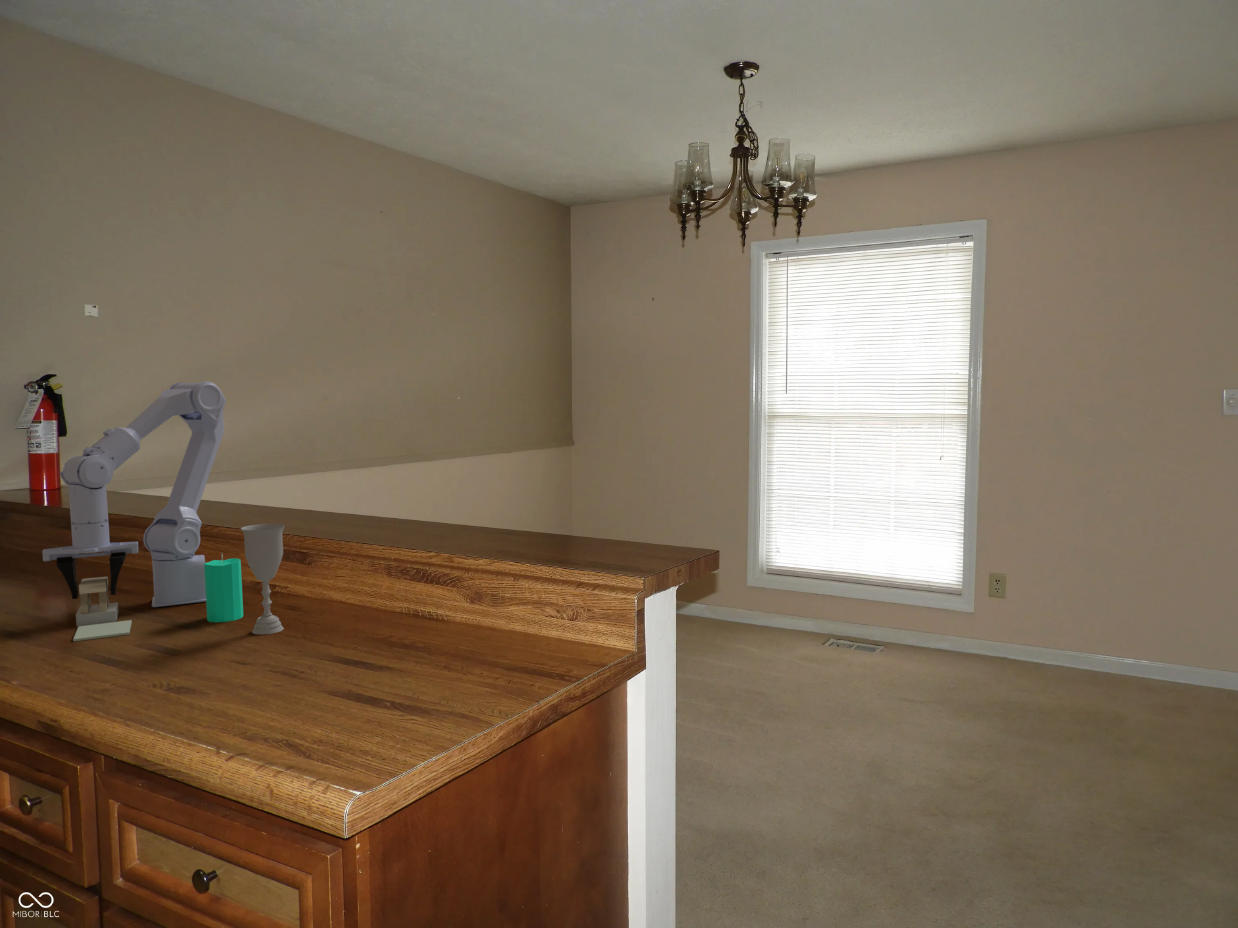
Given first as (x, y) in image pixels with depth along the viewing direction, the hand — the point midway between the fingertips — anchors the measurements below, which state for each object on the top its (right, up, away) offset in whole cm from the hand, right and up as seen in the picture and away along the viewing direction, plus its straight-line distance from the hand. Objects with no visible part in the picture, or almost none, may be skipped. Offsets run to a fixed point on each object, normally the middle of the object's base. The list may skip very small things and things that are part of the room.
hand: (94, 595), depth 150 cm
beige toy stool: (0, -2, 0) cm, 2 cm away
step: (0, -4, 0) cm, 4 cm away
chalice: (+35, -5, -8) cm, 36 cm away
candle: (+24, -4, 0) cm, 24 cm away
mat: (+6, -5, -8) cm, 11 cm away
